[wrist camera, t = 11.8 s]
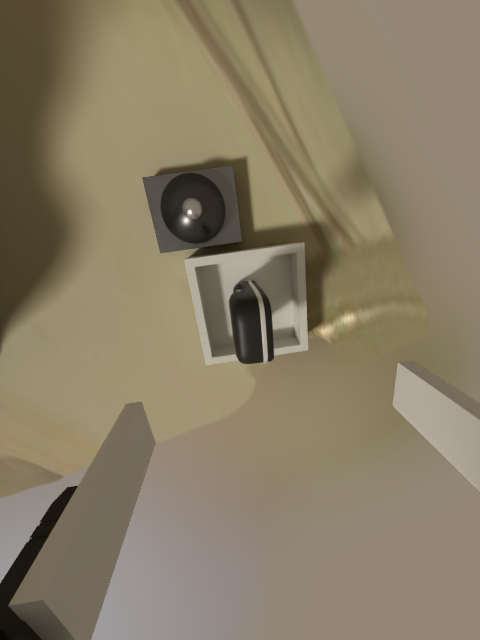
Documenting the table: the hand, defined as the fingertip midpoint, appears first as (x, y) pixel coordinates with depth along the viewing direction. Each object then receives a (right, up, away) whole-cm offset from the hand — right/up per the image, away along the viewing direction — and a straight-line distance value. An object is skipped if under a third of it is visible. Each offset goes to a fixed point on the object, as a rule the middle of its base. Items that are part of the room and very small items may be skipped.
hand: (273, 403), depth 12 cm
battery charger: (-1, +6, +20) cm, 21 cm away
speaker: (-7, +17, +16) cm, 25 cm away
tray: (-1, +7, +21) cm, 22 cm away
